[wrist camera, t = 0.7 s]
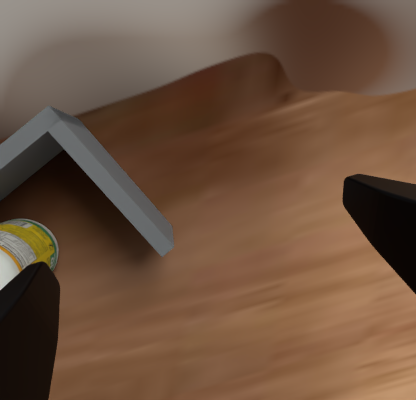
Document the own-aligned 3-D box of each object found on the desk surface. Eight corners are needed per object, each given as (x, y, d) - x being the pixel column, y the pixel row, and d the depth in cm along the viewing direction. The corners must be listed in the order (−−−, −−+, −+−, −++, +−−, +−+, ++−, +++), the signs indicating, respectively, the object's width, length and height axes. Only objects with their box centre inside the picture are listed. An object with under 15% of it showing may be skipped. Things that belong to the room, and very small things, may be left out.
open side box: (172, 226, 25) (174, 247, 19) (-17, 383, 25) (-74, 453, 19) (78, 119, 23) (48, 105, 17) (-130, 288, 23) (-234, 334, 17)
